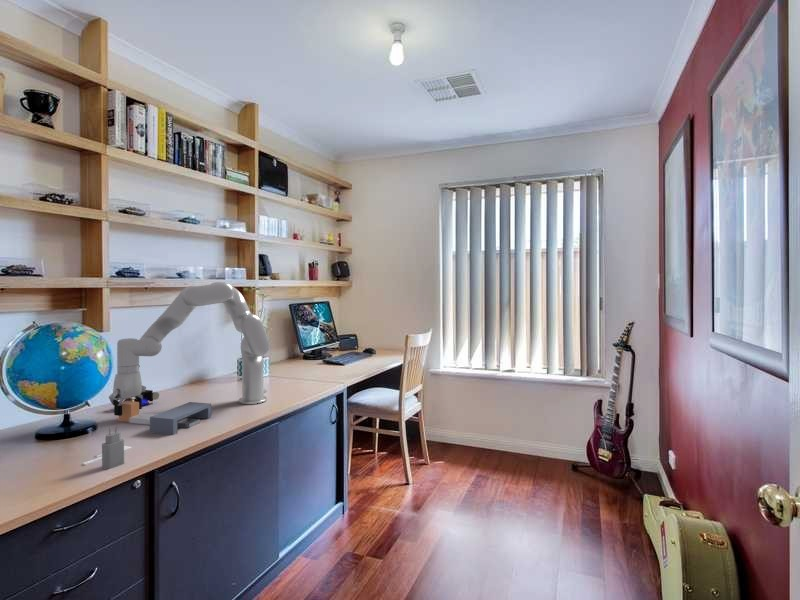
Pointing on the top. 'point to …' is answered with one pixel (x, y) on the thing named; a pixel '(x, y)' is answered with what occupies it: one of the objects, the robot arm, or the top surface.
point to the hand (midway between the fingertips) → (128, 412)
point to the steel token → (188, 423)
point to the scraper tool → (133, 413)
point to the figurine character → (147, 397)
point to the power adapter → (112, 450)
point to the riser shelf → (178, 417)
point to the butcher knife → (99, 457)
